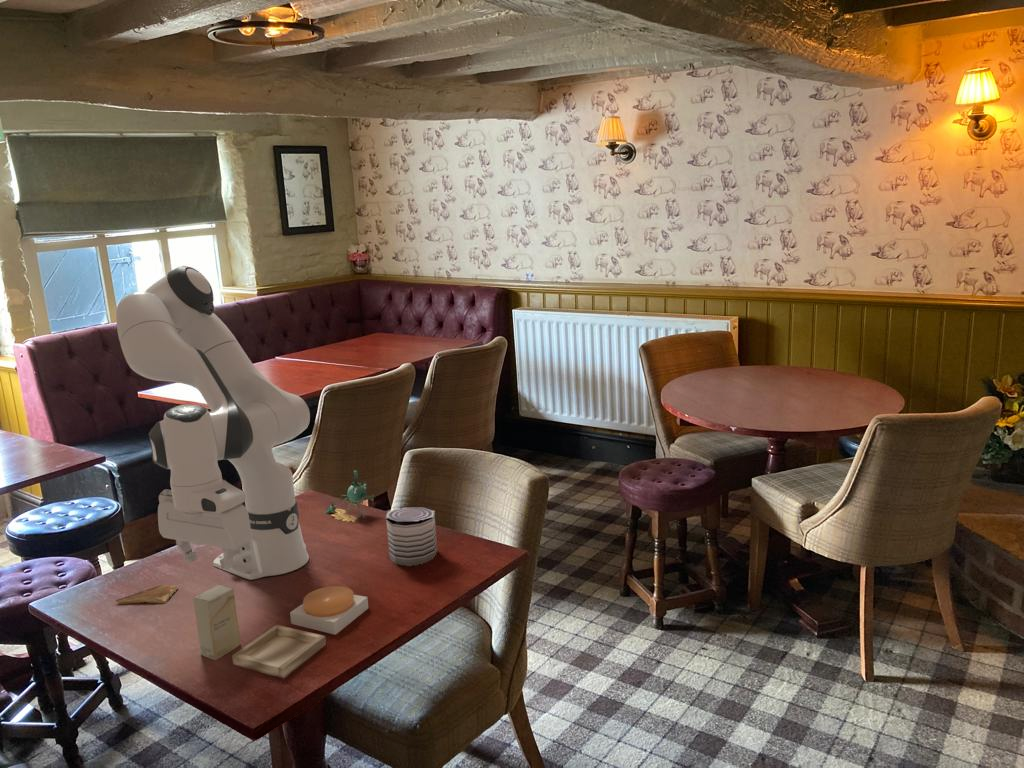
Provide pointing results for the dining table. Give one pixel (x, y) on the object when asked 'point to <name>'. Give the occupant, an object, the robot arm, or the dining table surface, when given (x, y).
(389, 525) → the can
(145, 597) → the shard
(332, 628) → the white square base
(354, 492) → the frog figurine
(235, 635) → the skincare box
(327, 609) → the button
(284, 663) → the beige soap dish
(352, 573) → the dining table surface
